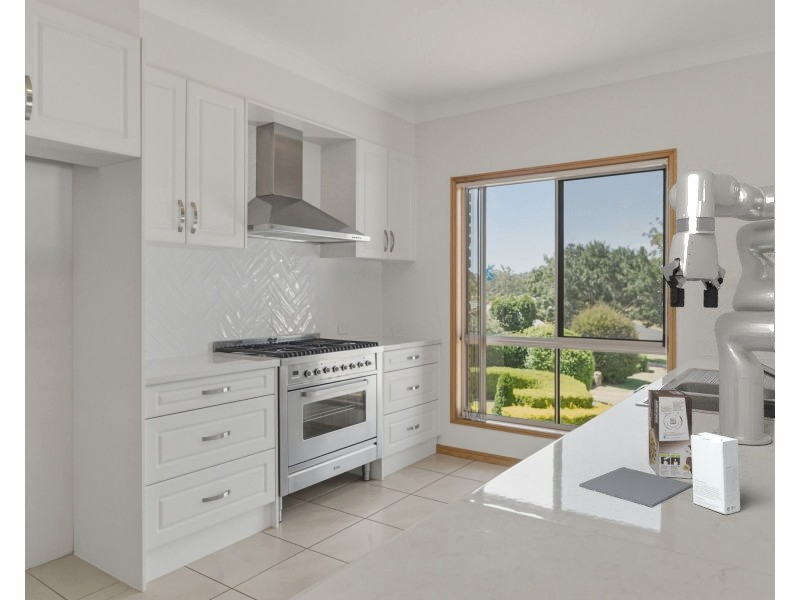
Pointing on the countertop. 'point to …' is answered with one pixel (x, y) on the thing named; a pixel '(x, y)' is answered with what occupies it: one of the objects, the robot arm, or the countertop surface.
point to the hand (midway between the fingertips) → (694, 307)
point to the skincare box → (715, 472)
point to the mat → (636, 486)
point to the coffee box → (670, 433)
